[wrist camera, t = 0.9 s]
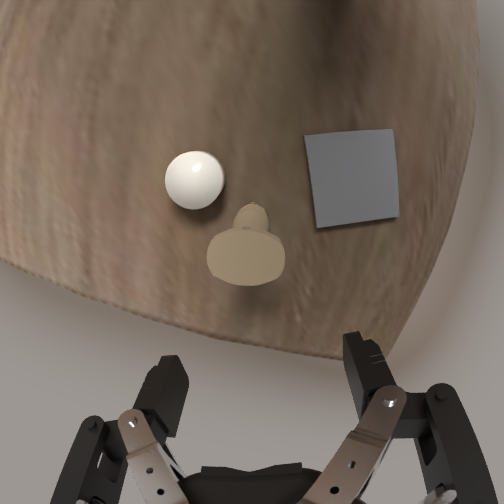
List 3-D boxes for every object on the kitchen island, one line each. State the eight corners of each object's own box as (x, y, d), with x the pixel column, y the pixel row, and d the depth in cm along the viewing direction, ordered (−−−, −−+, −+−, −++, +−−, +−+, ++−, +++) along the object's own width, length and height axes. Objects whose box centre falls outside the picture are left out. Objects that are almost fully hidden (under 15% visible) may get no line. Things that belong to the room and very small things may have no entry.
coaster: (303, 135, 33) (304, 135, 32) (389, 129, 32) (392, 129, 31) (315, 225, 37) (317, 228, 37) (396, 214, 36) (399, 216, 35)
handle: (228, 194, 36) (205, 230, 23) (278, 196, 36) (287, 232, 22) (228, 230, 38) (208, 283, 24) (276, 231, 38) (283, 286, 24)
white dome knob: (168, 157, 35) (159, 159, 32) (220, 145, 34) (215, 146, 31) (180, 207, 37) (172, 214, 34) (230, 197, 37) (227, 203, 33)
